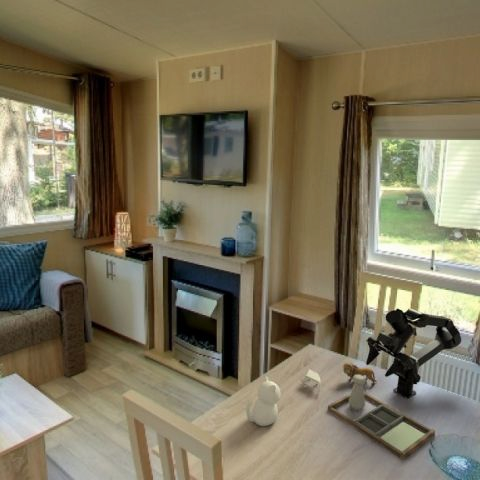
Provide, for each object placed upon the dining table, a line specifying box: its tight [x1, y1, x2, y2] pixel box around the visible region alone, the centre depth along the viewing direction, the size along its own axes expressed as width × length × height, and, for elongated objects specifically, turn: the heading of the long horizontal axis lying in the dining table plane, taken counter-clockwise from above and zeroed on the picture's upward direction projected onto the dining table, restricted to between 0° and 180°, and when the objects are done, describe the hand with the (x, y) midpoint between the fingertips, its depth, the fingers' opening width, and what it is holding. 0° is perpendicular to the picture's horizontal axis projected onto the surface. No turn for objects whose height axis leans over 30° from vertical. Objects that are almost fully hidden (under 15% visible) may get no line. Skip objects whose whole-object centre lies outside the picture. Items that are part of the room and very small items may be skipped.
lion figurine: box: [342, 362, 378, 387], centre depth 163 cm, size 15×5×9 cm, turn 95°
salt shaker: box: [348, 375, 366, 413], centre depth 145 cm, size 6×6×13 cm
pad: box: [379, 421, 426, 452], centre depth 132 cm, size 14×8×1 cm, turn 127°
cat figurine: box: [245, 375, 282, 427], centre depth 137 cm, size 9×12×15 cm
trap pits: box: [353, 404, 404, 438], centre depth 139 cm, size 17×9×2 cm, turn 127°
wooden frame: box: [327, 391, 436, 461], centre depth 139 cm, size 19×30×2 cm, turn 37°
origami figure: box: [300, 368, 322, 395], centre depth 159 cm, size 12×8×5 cm
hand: (375, 370), depth 147 cm, fingers open, 9 cm apart
